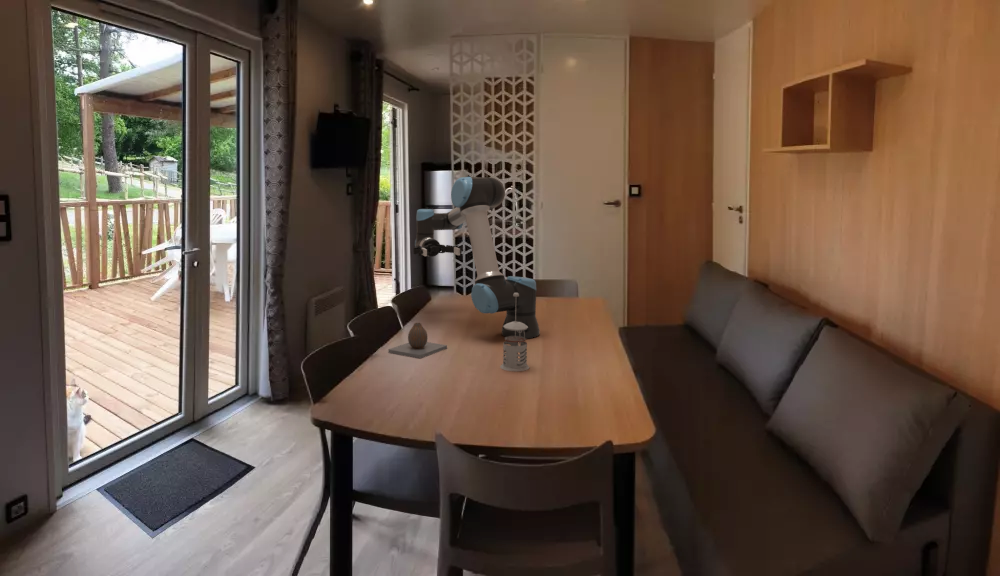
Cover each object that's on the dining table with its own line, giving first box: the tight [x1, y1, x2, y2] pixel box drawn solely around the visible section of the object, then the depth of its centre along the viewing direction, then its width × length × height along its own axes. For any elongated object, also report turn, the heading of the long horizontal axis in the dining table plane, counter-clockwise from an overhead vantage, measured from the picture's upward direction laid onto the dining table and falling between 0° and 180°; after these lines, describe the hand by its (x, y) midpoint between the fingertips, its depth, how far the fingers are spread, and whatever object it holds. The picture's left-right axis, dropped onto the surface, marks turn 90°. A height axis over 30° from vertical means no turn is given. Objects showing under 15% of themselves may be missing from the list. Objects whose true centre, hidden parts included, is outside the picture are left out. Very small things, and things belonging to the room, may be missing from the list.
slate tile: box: [388, 341, 448, 359], centre depth 231 cm, size 14×16×1 cm
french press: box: [499, 293, 530, 372], centre depth 212 cm, size 10×12×25 cm
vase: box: [407, 322, 428, 349], centre depth 231 cm, size 7×7×9 cm
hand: (442, 252), depth 257 cm, fingers open, 13 cm apart
